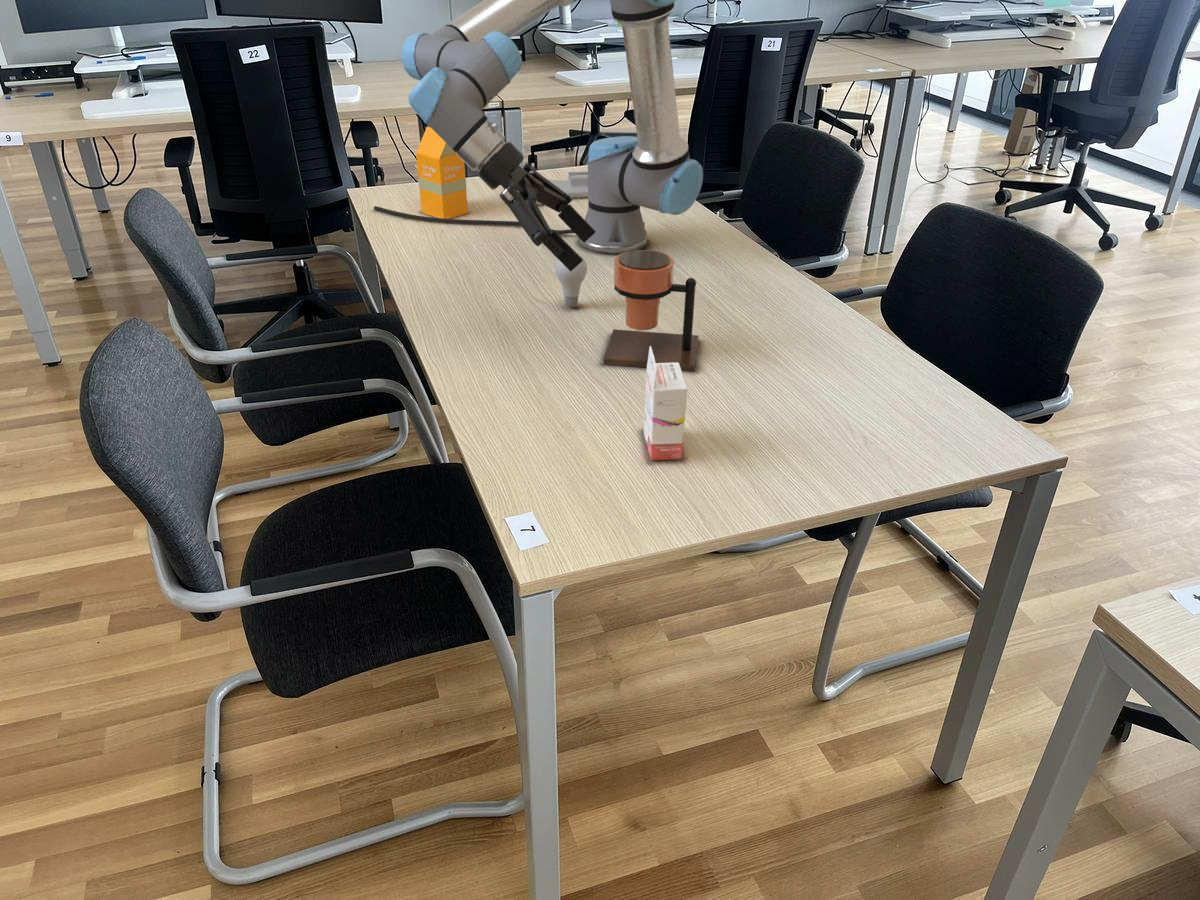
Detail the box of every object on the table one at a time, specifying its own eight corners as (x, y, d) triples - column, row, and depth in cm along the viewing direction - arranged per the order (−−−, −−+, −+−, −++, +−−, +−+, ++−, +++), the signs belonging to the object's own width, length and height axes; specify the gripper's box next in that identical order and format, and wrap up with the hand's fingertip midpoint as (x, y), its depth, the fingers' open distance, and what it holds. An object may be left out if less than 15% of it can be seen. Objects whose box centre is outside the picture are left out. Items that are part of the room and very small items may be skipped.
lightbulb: (592, 304, 180) (592, 250, 174) (578, 316, 176) (578, 261, 170) (564, 298, 183) (563, 245, 177) (550, 310, 178) (549, 255, 172)
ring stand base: (603, 364, 159) (603, 358, 158) (613, 335, 169) (613, 329, 168) (694, 371, 157) (694, 365, 156) (698, 341, 167) (698, 335, 166)
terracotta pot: (601, 325, 159) (602, 260, 153) (635, 307, 166) (638, 244, 160) (648, 341, 154) (651, 274, 148) (681, 321, 161) (685, 257, 154)
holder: (650, 200, 236) (651, 181, 234) (518, 207, 231) (517, 187, 228) (635, 179, 252) (635, 161, 249) (511, 185, 247) (510, 166, 244)
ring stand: (610, 355, 159) (611, 284, 152) (617, 332, 167) (619, 263, 160) (689, 361, 157) (694, 289, 150) (693, 337, 165) (698, 268, 158)
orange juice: (443, 220, 222) (436, 135, 211) (420, 212, 227) (412, 128, 216) (468, 212, 227) (463, 129, 216) (445, 205, 232) (439, 123, 221)
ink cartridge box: (683, 460, 133) (690, 370, 126) (649, 461, 133) (654, 371, 125) (674, 429, 141) (680, 342, 133) (642, 430, 140) (646, 343, 132)
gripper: (487, 161, 136) (587, 263, 143) (523, 121, 157) (609, 212, 163) (455, 195, 140) (554, 293, 146) (495, 151, 161) (580, 239, 167)
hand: (583, 251), depth 155 cm, fingers open, 13 cm apart
